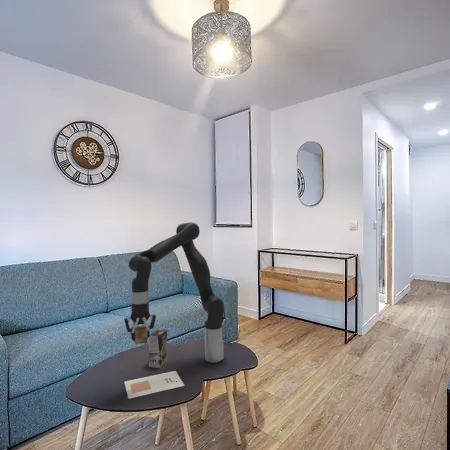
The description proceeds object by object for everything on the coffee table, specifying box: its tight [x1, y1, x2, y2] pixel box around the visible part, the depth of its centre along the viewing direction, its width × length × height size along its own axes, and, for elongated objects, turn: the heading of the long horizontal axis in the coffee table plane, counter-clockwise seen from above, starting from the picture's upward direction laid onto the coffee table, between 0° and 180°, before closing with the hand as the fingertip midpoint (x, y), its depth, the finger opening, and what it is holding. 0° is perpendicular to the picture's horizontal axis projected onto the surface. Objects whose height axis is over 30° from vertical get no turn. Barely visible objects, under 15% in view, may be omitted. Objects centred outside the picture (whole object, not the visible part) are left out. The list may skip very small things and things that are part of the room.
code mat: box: [124, 370, 185, 399], centre depth 135 cm, size 24×15×1 cm, turn 115°
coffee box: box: [148, 329, 168, 369], centre depth 155 cm, size 9×6×16 cm
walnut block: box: [133, 325, 148, 345], centre depth 133 cm, size 5×5×6 cm
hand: (140, 339), depth 133 cm, fingers closed on walnut block, 5 cm apart
